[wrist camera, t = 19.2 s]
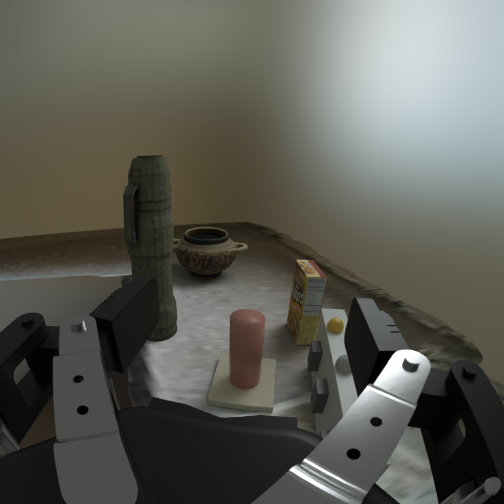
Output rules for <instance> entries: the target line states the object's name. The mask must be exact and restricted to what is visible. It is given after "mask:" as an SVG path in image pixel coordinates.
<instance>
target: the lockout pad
mask: <svg viewBox="0 0 504 504" xmlns="http://www.w3.org/2000/svg"><path fill="white" fill-rule="evenodd" d="M229 359H230V355H229V354H222V353H221V355H220V359H219V362H218V365H217V368H216V372H215V375H214V378H213V382H212V385H211V388H210V391H209V395H208V398H207V405H212V406H219V407H226V408H233V409H241V410H250V411H260V412H271V413H272V412H273V405H274V388H275V369H276V359H266V358H262V362H261V373H260V382H259V383H258V385H257V386H255V387H253V388H250V389H240V388H237V387H235V386H233V385H232V384H231V382H230V380H229Z"/></svg>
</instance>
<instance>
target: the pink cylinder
mask: <svg viewBox="0 0 504 504" xmlns="http://www.w3.org/2000/svg"><path fill="white" fill-rule="evenodd" d="M264 327H265V316H264V315H263V314H262V313H260V312H258V311H255V310H250V309H242V310H237V311H235V312H233V313H232V314H231V316H230V359H229V380H230V382H231V384H232V385H233V386H235V387H237V388H240V389H250V388H253V387H255V386H257V385H258V383H259V382H260V373H261V362H262V350H263V339H264Z"/></svg>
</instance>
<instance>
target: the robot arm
mask: <svg viewBox="0 0 504 504" xmlns="http://www.w3.org/2000/svg"><path fill="white" fill-rule="evenodd" d="M159 316H160V310H159V300H158V288H157V281H156V279H155V278H150V277H143V276H137V277H136V278H135V279H134V280H133V281H131V282H130V283H129V284H128V285H127V286H124V287H122V288H119V289H117V290H115V291H114V292H113V293H112V294H111V295H110V297H108V298H107V299H106V300H104V302H102V303H101V304H100V305H99V306H98V307H97V308H96V309H95V310H94V311H93V312H92V313H90V314H89V315H82V314H80V315H74V316H71V317H69V318H67V319H65V320H64V321H63V322H62V323H61V325H60V327H55V326H46V324H45V321H44V318H43V316H42V315H41V314H39V313H27V314H24V315H21V316H20V317H18V318H17V319H15V320H14V321H13V322H12V323H11V324H10V325H8V326H7V327H6V328H5V329H4V330H3V331H2V332H0V504H400V503H398V502H397V501H396V500H395V499H394V498H392V497H391V496H390V495H389V494H387V493H386V492H385V491H384V490H383V489H382V488H380V487H379V486H378V485H377V484H376V483H374V482H375V481H376V479H377V478H378V476H379V475H380V473H381V471H382V470H383V468H384V467H385V465H386V463H387V462H388V460H389V458H390V457H391V455H392V453H393V451H394V450H395V448H396V446H397V444H398V442H399V440H400V439H401V437H402V435H403V433H404V431H405V429H406V427H407V426H410V427H417V428H420V430H421V433H422V436H423V440H424V444H425V447H426V451H427V455H428V459H429V462H430V466H431V471H432V475H433V479H434V484H435V488H436V493H437V498H438V503H439V504H504V405H503V403H502V402H501V400H500V398H499V396H498V395H497V393H496V391H495V389H494V388H493V386H492V384H491V383H490V381H489V379H488V378H487V376H486V375H485V373H484V371H483V370H482V369H481V368H480V367H479V366H478V365H477V364H475V363H473V362H471V361H467V360H458V361H456V362H454V363H453V365H452V367H451V369H450V371H443V370H437V369H432V368H431V365H430V362H429V361H428V359H427V358H426V357H425V356H423V355H422V354H420V353H418V352H416V351H412V350H409V348H408V346H407V344H406V342H405V340H404V339H403V337H402V335H401V333H399V330H398V328H397V327H396V324H395V323H394V321H393V319H392V318H391V317H390V316H389V315H388V314H386V313H385V312H384V311H379V310H378V308H377V306H376V304H375V302H374V300H373V299H372V298H354V299H353V301H352V304H351V308H350V312H349V317H348V321H347V325H346V329H345V334H344V345H345V349H346V353H347V357H348V360H349V364H350V368H351V372H352V376H353V380H354V384H355V388H356V392H357V396H358V399H357V400H356V401H355V403H354V404H353V405H352V406H351V408H350V409H349V410H348V411H347V413H346V414H345V415H344V416H343V418H342V419H341V420H340V421H339V422H338V423H337V425H336V426H335V427H334V428H333V429H332V430H331V432H330V433H329V434H328V435H327V436H326V437H325V438H322V437H320V436H318V435H316V434H314V433H312V432H309V431H306V430H303V429H300V428H297V418H294V417H278V416H265V415H256V416H244V417H228V418H222V417H217V416H215V415H212V414H209V413H207V412H204V411H201V410H199V409H196V408H194V407H191V406H189V405H187V404H182V403H177V402H173V401H168V400H164V399H159V398H155V397H153V398H152V400H151V402H150V404H149V406H137V407H129V408H125V409H121V410H120V409H119V405H118V402H117V398H116V395H115V391H114V387H113V384H112V380H111V377H110V373H111V372H112V371H117V372H120V373H123V374H124V373H125V371H126V370H127V368H128V367H129V365H130V364H131V363H132V361H133V360H134V358H135V357H136V355H137V354H138V352H139V351H140V349H141V348H142V346H143V345H144V343H145V342H146V340H147V339H148V337H149V336H150V335H151V333H152V332H153V330H154V329H155V327H156V326H157V324H158V321H159ZM24 358H25V359H26V361H27V364H28V366H29V368H30V370H29V371H28V373H27V374H26V375H25V376H24V377H23V378H22V379H21V381H20V382H19V383H18V384H17V385H16V383H15V381H14V376H13V375H14V370H15V368H16V367H17V366H18V365H19V364H20V363H21V362H22V361H23V359H24ZM53 395H54V412H55V425H56V434H57V436H55V437H53V438H50V439H47V440H45V441H42V442H40V443H37V444H34V445H31V446H28V447H26V448H22V449H20V450H18V446H19V444H20V443H21V441H22V440H23V438H24V437H25V435H26V434H27V432H28V430H29V429H30V427H31V426H32V424H33V423H34V422H35V420H36V418H37V417H38V416H39V414H40V413H41V411H42V410H43V408H44V407H45V406H46V404H47V403H48V401H49V400H50V398H51V397H52V396H53ZM461 418H462V420H463V423H464V425H465V429H466V433H465V438H464V437H463V434H462V432H461V429H460V426H459V424H458V421H459V420H460V419H461Z"/></svg>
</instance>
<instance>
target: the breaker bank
mask: <svg viewBox="0 0 504 504" xmlns="http://www.w3.org/2000/svg"><path fill="white" fill-rule="evenodd" d="M347 321H348V319H347V316H346V313H345V310H337V309H322V308H321V314H320V319H319V324H318V329H317V334H316V338H315V341H311V345H310V350H309V355H308V359H307V360H308V371H311V379H312V390H313V392H312V395H311V409H312V413H315V427H316V435H318V436H320V437H322V438H325V437H326V436H327V435H328V434H329V433H330V432H331V430H332V429H333V428H334V427H335V426H336V425H337V423H338V422H339V421H340V420H341V419H342V418H343V416H344V415H345V414H346V413H347V411H348V410H349V409H350V408H351V406H352V405H353V404H354V403H355V401H356V400H357V399H358V396H357V392H356V388H355V384H354V380H353V376H352V372H351V368H350V364H349V360H348V357H347V353H346V349H345V345H344V334H345V329H346V325H347ZM390 465H391V461H390V458H389V460H388V462H387V463H386V465H385V467H384V468H383V470H382V471H381V473H380V475H379V476H378V478H377V479H376V481H377V480H378V479H379V478H380V477H381V476H382V474H383V473H384V472H385V471H386V470H387V468H388V467H389V466H390ZM376 481H375V482H374V483H376Z"/></svg>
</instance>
